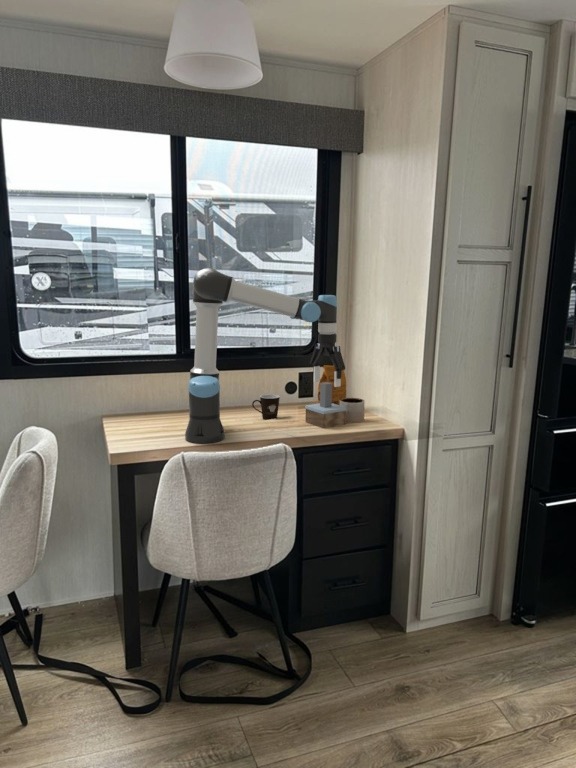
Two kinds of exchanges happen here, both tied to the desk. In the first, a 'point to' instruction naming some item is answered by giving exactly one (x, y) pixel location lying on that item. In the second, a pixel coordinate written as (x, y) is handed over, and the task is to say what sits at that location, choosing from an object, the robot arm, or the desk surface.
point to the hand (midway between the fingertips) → (326, 384)
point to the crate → (325, 419)
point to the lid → (325, 401)
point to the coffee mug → (268, 406)
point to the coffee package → (336, 391)
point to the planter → (353, 409)
